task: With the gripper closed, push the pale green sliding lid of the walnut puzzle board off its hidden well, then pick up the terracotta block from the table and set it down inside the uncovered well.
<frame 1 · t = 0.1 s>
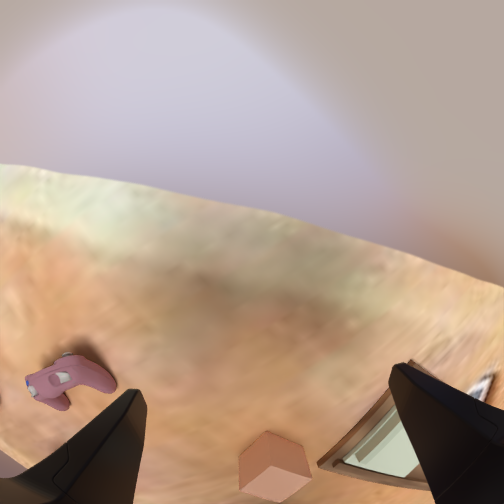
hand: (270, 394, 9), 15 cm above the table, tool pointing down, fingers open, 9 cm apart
board: (424, 442, 26), on the table
block: (270, 451, 25), on the table
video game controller: (77, 374, 24), on the table
lid: (410, 443, 23), point 2 cm above the table, slide at 0.0 cm
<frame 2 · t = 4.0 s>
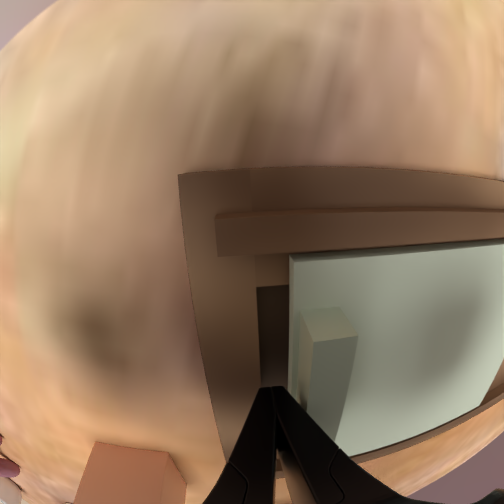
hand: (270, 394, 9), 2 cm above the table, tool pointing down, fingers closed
board: (475, 329, 11), on the table
block: (142, 465, 13), on the table
teacup: (5, 477, 19), on the table
lid: (439, 376, 9), point 2 cm above the table, slide at 1.5 cm, touching gripper
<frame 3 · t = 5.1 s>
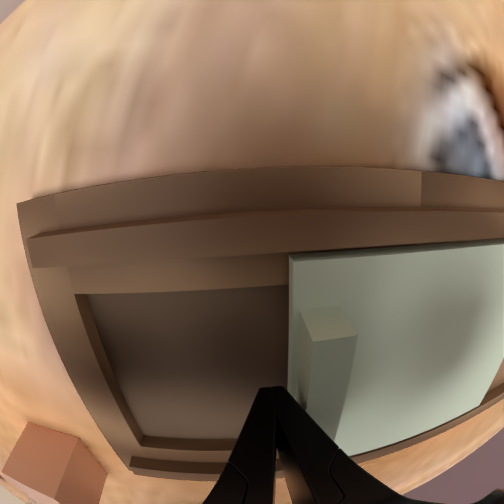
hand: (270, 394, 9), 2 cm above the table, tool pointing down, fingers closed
board: (383, 355, 11), on the table
white cup: (53, 499, 19), on the table
block: (67, 449, 13), on the table
lid: (439, 375, 9), point 2 cm above the table, slide at 7.9 cm, touching gripper
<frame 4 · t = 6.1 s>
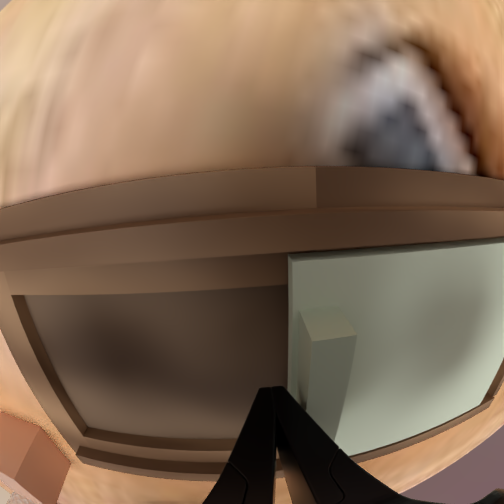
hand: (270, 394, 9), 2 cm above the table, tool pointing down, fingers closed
board: (304, 369, 11), on the table
white cup: (37, 492, 19), on the table
block: (35, 438, 13), on the table
lid: (439, 375, 9), point 2 cm above the table, slide at 11.6 cm, touching gripper
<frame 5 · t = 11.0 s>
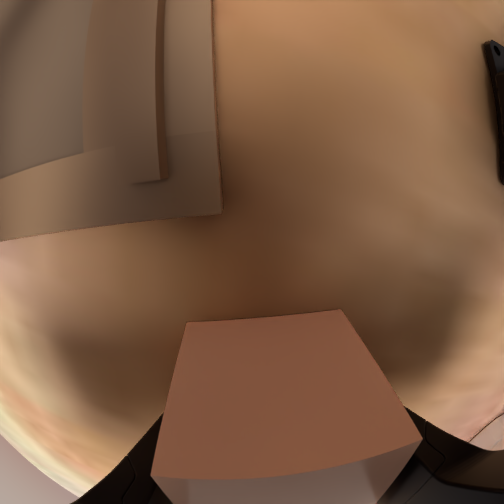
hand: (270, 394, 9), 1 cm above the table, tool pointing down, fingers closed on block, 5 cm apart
white cup: (481, 436, 15), on the table
block: (267, 375, 10), on the table, touching gripper
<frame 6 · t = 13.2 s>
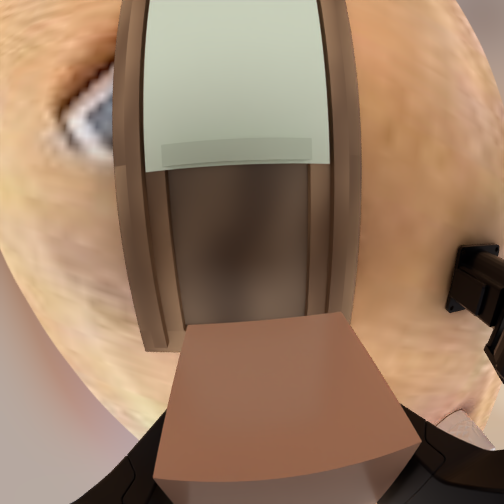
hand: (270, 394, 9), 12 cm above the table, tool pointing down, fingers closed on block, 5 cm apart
board: (237, 155, 17), on the table
white cup: (446, 423, 29), on the table
block: (268, 376, 10), point 11 cm above the table, touching gripper
lid: (233, 59, 13), point 2 cm above the table, slide at 11.9 cm
when the fingers open (2 cm above the table, at t = 15.5 s): block drops 1 cm, resting on board.
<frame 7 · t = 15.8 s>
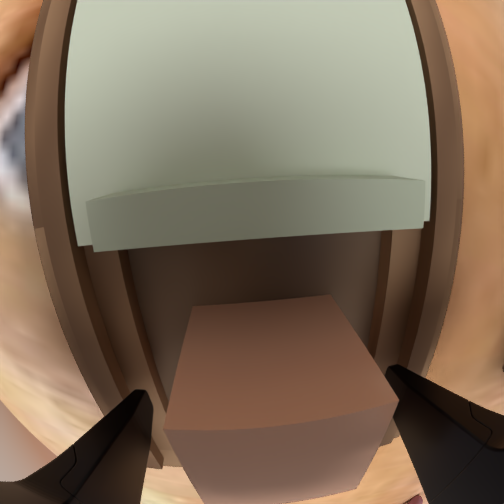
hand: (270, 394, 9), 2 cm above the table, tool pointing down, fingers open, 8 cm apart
board: (254, 198, 9), on the table
block: (265, 355, 11), resting on board
lid: (246, 1, 5), point 2 cm above the table, slide at 11.9 cm
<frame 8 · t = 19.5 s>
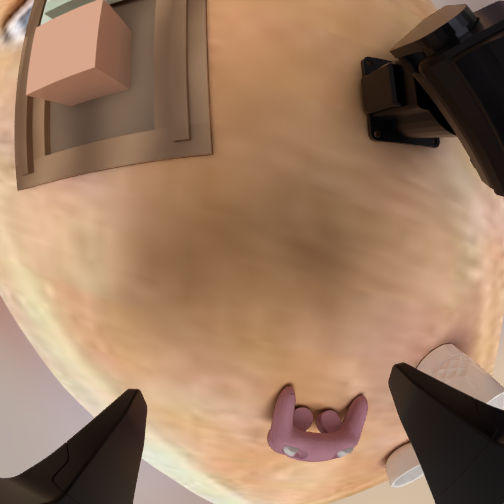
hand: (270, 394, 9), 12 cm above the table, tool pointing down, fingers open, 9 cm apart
board: (106, 7, 13), on the table
white cup: (434, 366, 25), on the table
block: (99, 67, 15), resting on board
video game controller: (314, 406, 25), on the table
teacup: (402, 452, 31), on the table
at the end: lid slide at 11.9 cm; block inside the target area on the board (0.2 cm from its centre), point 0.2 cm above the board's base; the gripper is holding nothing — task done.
